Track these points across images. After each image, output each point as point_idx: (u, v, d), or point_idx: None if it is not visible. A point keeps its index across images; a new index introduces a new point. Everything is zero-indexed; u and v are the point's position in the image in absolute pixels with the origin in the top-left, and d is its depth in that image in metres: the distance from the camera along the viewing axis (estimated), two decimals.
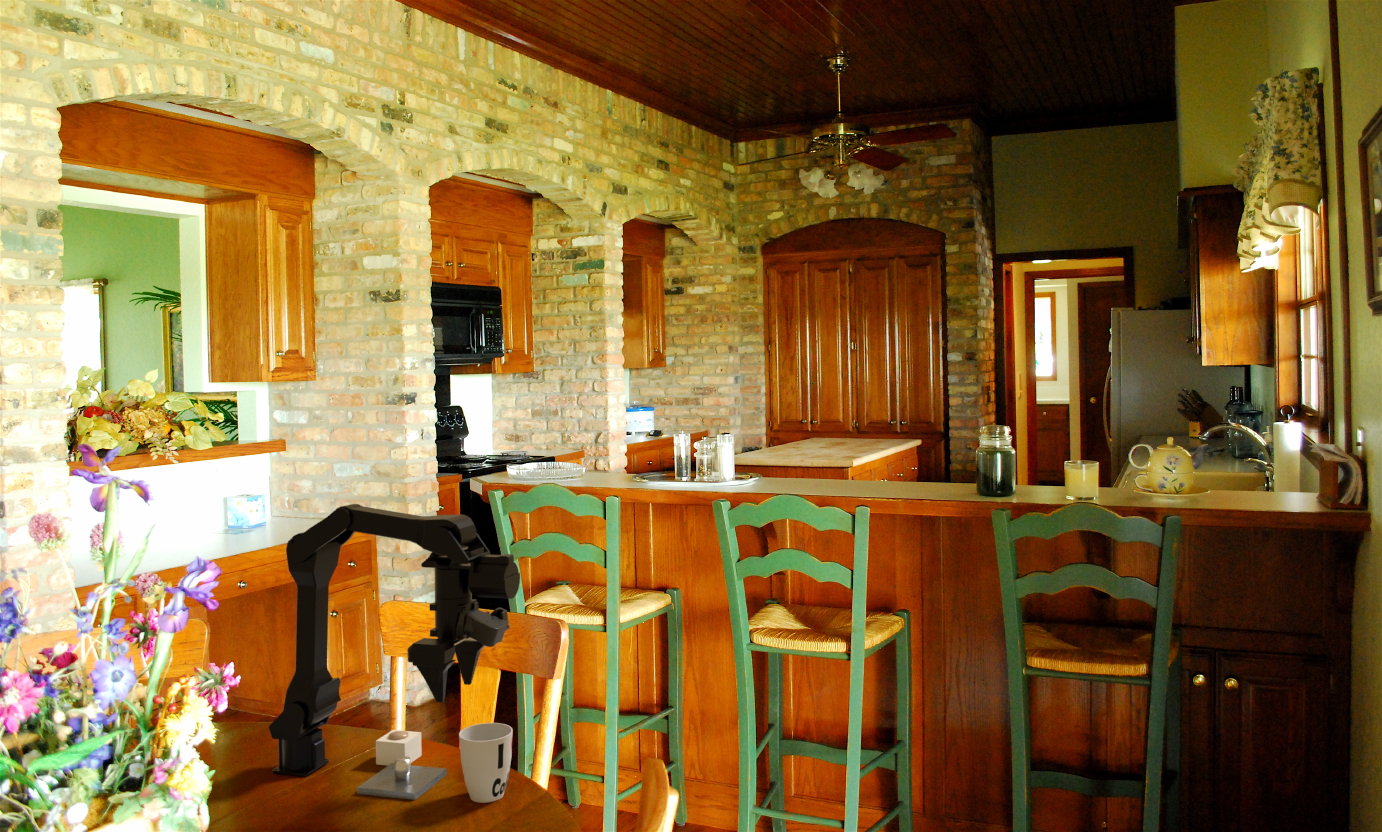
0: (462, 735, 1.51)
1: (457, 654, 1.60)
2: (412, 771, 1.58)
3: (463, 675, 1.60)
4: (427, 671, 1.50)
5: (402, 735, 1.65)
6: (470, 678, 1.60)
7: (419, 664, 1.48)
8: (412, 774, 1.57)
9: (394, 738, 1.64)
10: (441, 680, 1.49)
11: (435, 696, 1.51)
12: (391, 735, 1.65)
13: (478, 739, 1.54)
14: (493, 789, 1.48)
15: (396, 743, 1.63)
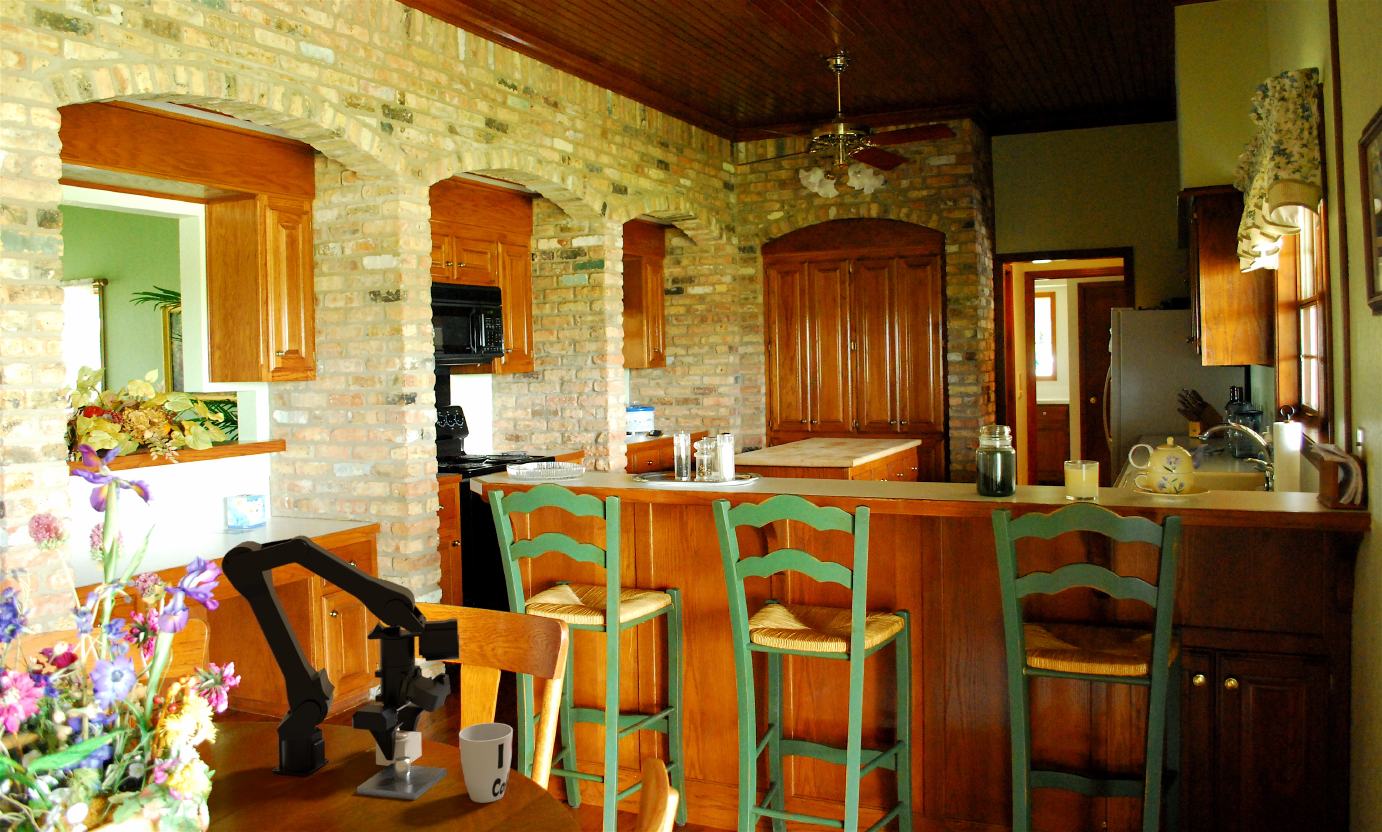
0: (462, 735, 1.51)
1: (398, 719, 1.69)
2: (412, 771, 1.58)
3: None
4: (377, 732, 1.62)
5: (402, 735, 1.65)
6: None
7: None
8: (412, 774, 1.57)
9: None
10: (390, 740, 1.62)
11: (385, 755, 1.63)
12: None
13: (478, 739, 1.54)
14: (493, 789, 1.48)
15: (396, 743, 1.63)
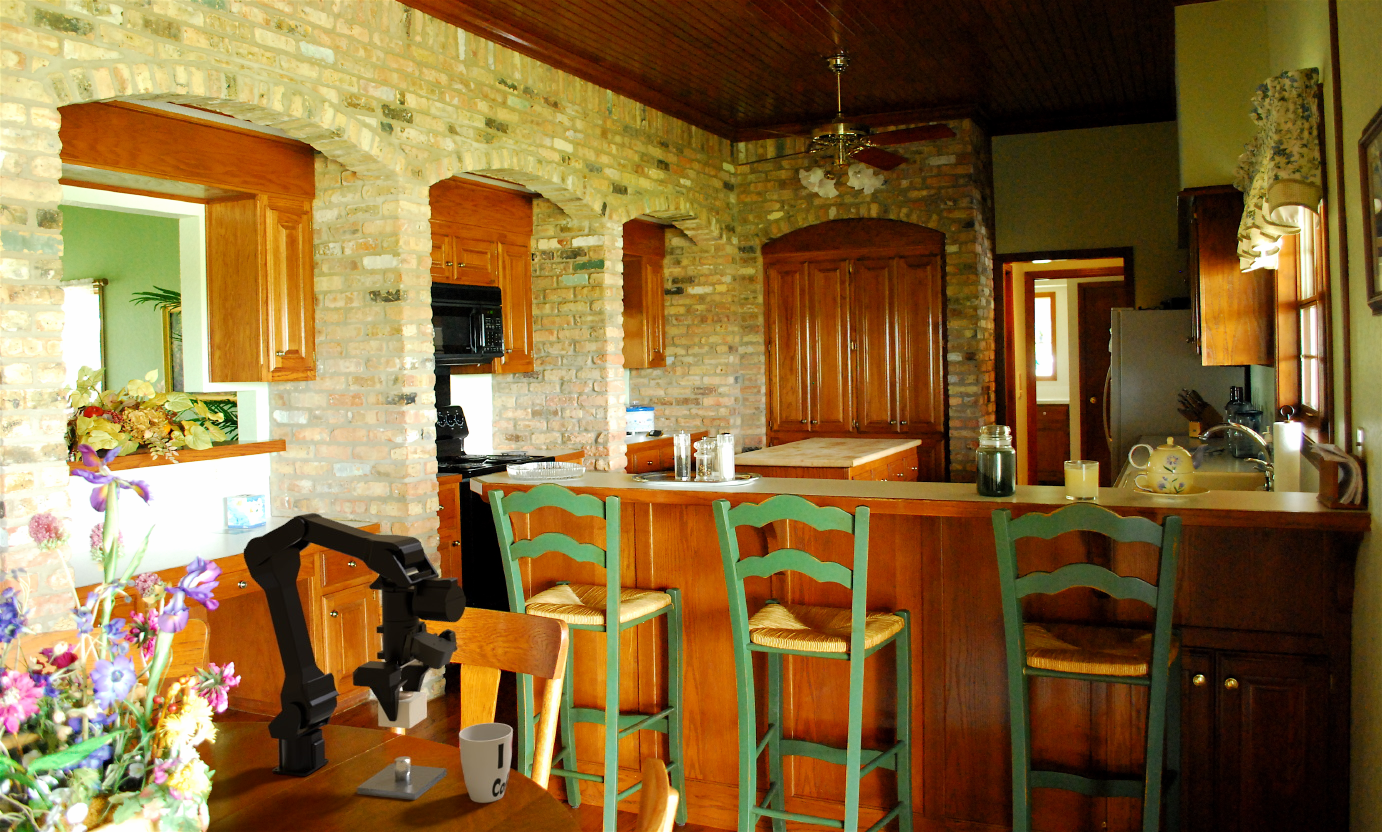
0: (462, 735, 1.51)
1: (401, 679, 1.59)
2: (412, 771, 1.58)
3: None
4: (379, 691, 1.52)
5: (406, 695, 1.55)
6: None
7: None
8: (412, 774, 1.57)
9: None
10: (393, 699, 1.51)
11: (388, 715, 1.53)
12: None
13: (478, 739, 1.54)
14: (493, 789, 1.48)
15: (400, 703, 1.53)
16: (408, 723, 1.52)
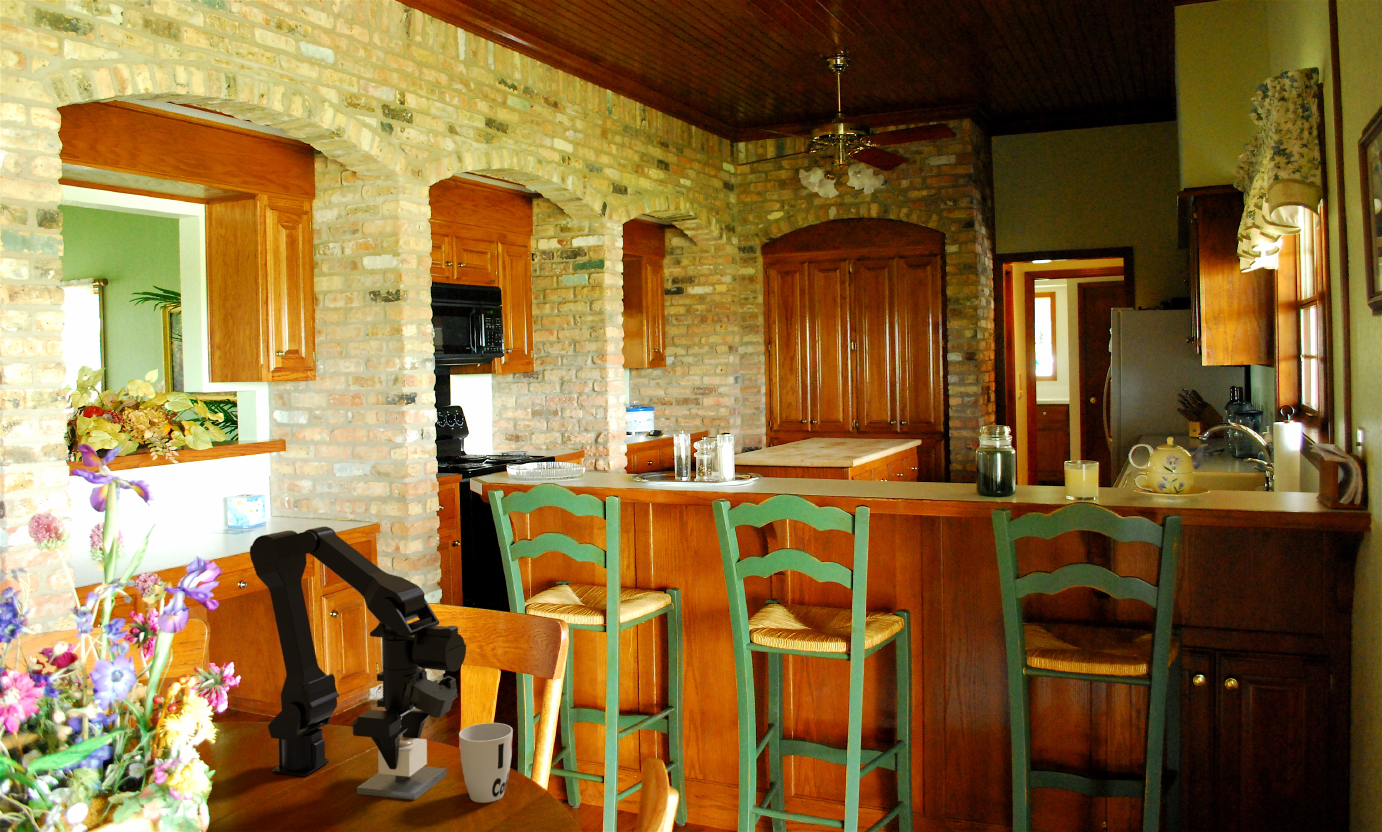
0: (462, 735, 1.51)
1: (401, 725, 1.59)
2: None
3: None
4: (380, 739, 1.52)
5: (406, 742, 1.55)
6: None
7: None
8: None
9: None
10: (393, 748, 1.51)
11: (388, 763, 1.53)
12: None
13: (478, 739, 1.54)
14: (493, 789, 1.48)
15: (400, 751, 1.53)
16: (408, 771, 1.52)
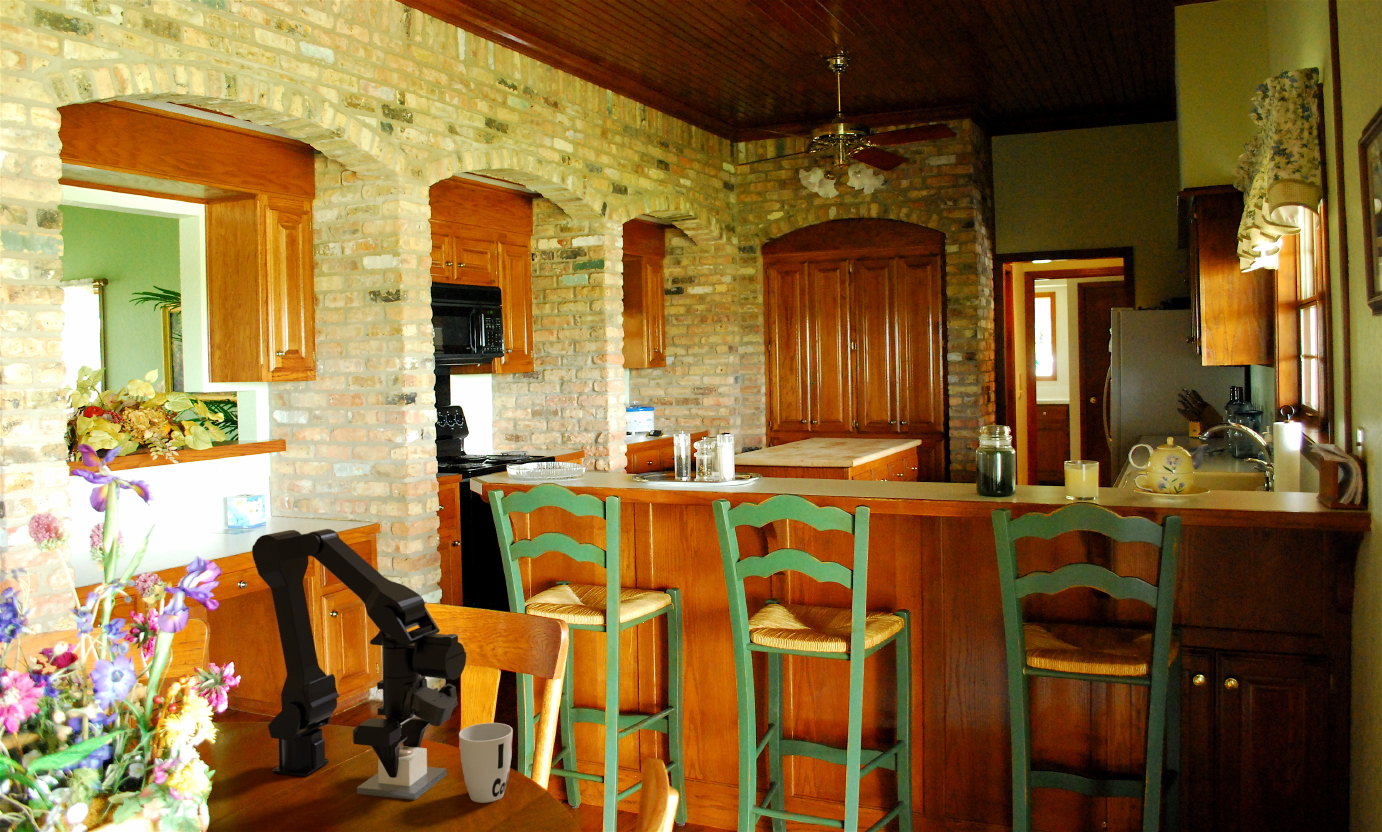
0: (462, 735, 1.51)
1: (401, 732, 1.59)
2: None
3: None
4: (380, 747, 1.52)
5: (406, 751, 1.55)
6: None
7: None
8: None
9: None
10: (393, 756, 1.51)
11: (388, 771, 1.53)
12: None
13: (478, 739, 1.54)
14: (493, 789, 1.48)
15: (400, 760, 1.53)
16: (408, 781, 1.53)
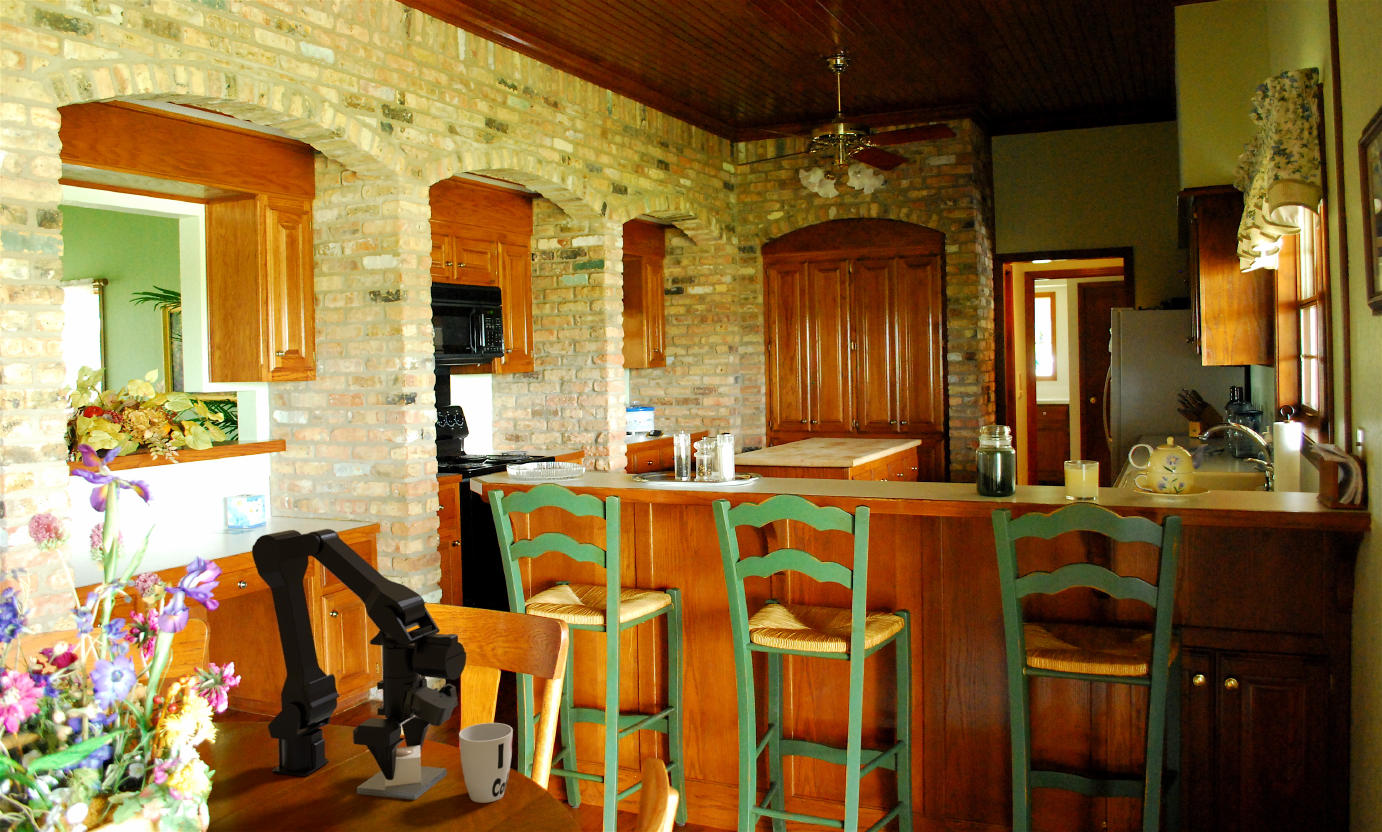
0: (462, 735, 1.51)
1: (404, 731, 1.60)
2: None
3: None
4: (376, 749, 1.51)
5: (409, 750, 1.56)
6: None
7: None
8: None
9: (403, 754, 1.54)
10: (390, 758, 1.50)
11: (385, 774, 1.52)
12: (397, 752, 1.55)
13: (478, 739, 1.54)
14: (493, 789, 1.48)
15: (410, 759, 1.53)
16: (419, 777, 1.54)
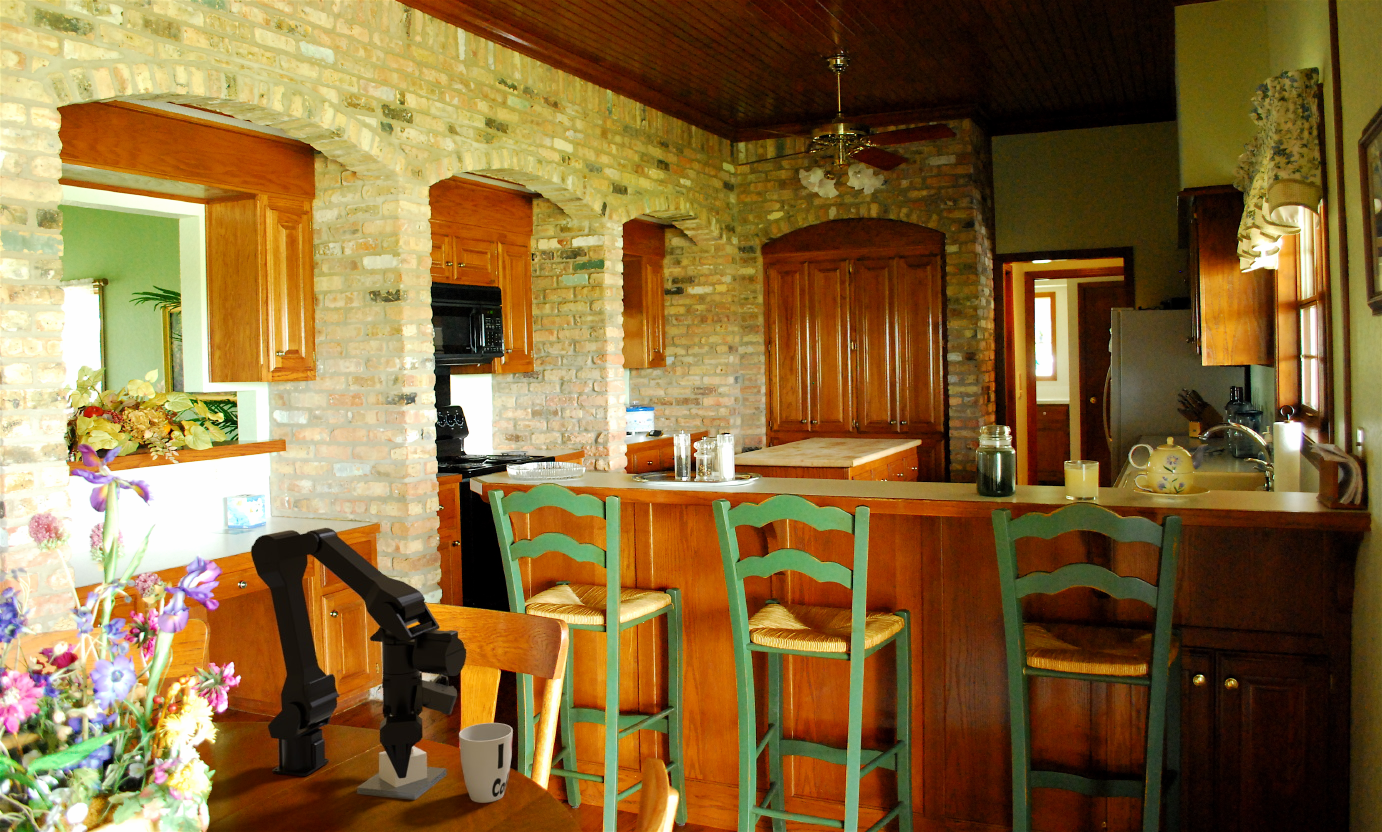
0: (462, 735, 1.51)
1: None
2: None
3: None
4: (393, 749, 1.49)
5: None
6: None
7: (391, 743, 1.47)
8: None
9: None
10: (408, 755, 1.50)
11: (398, 773, 1.51)
12: None
13: (478, 739, 1.54)
14: (493, 789, 1.48)
15: (417, 756, 1.55)
16: (426, 773, 1.56)
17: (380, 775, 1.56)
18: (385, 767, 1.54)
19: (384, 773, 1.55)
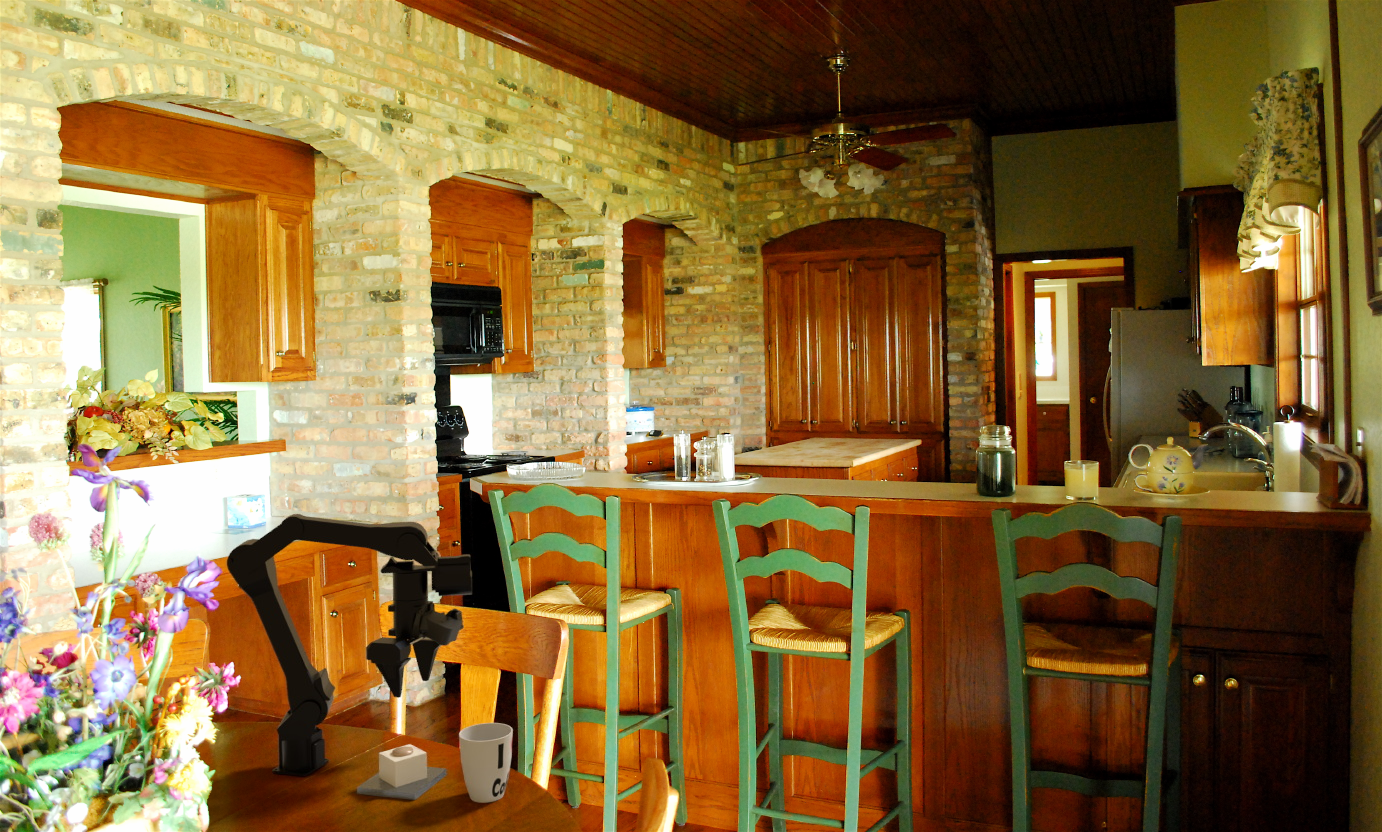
0: (462, 735, 1.51)
1: (415, 652, 1.71)
2: None
3: (421, 672, 1.70)
4: (385, 668, 1.60)
5: (409, 749, 1.56)
6: (428, 675, 1.70)
7: (377, 662, 1.58)
8: None
9: (408, 753, 1.55)
10: (398, 676, 1.60)
11: (393, 691, 1.61)
12: (400, 753, 1.55)
13: (478, 739, 1.54)
14: (493, 789, 1.48)
15: (417, 756, 1.55)
16: (426, 773, 1.56)
17: (380, 775, 1.56)
18: (385, 767, 1.54)
19: (384, 773, 1.55)
